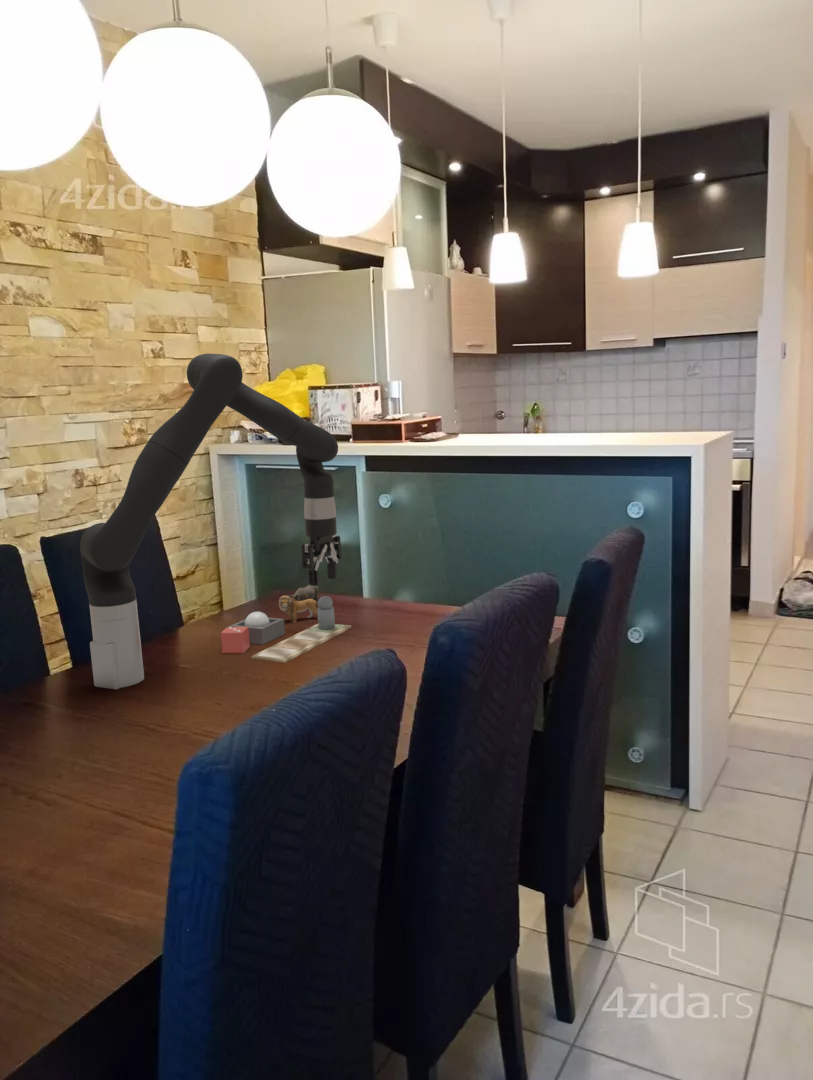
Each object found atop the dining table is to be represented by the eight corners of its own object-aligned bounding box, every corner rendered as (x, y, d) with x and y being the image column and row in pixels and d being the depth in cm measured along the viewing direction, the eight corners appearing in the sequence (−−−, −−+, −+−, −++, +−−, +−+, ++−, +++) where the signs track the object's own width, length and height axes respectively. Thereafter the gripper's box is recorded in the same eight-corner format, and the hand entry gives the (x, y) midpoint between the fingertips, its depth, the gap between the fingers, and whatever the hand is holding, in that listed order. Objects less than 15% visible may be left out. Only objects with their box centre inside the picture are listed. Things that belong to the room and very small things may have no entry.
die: (243, 654, 197) (242, 631, 196) (222, 654, 197) (220, 631, 196) (250, 647, 202) (248, 625, 201) (229, 647, 202) (227, 625, 201)
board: (285, 663, 188) (285, 659, 188) (251, 659, 192) (251, 655, 192) (351, 628, 214) (351, 625, 214) (320, 625, 218) (319, 622, 218)
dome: (261, 640, 205) (259, 616, 204) (240, 638, 207) (238, 614, 206) (275, 633, 210) (273, 609, 209) (255, 631, 213) (253, 608, 212)
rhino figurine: (282, 614, 231) (281, 592, 230) (311, 602, 243) (310, 581, 242) (295, 615, 229) (294, 593, 228) (324, 603, 241) (322, 582, 240)
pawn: (329, 630, 209) (327, 598, 208) (315, 629, 211) (313, 597, 210) (337, 626, 213) (336, 594, 212) (323, 625, 215) (321, 593, 213)
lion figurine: (283, 626, 219) (281, 598, 218) (277, 622, 223) (275, 594, 222) (327, 618, 224) (325, 591, 223) (320, 615, 228) (319, 588, 227)
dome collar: (262, 645, 203) (261, 629, 202) (231, 642, 207) (229, 625, 206) (285, 634, 211) (283, 619, 210) (254, 631, 215) (252, 616, 214)
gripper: (317, 520, 200) (321, 589, 202) (348, 512, 212) (351, 577, 215) (290, 519, 203) (294, 587, 206) (322, 511, 215) (325, 575, 218)
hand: (323, 581), depth 210 cm, fingers open, 8 cm apart
